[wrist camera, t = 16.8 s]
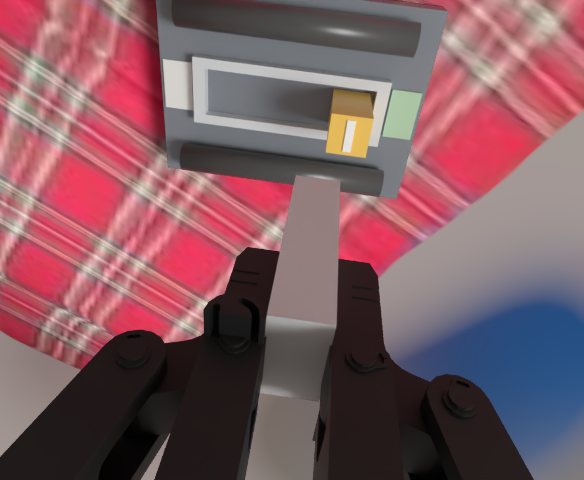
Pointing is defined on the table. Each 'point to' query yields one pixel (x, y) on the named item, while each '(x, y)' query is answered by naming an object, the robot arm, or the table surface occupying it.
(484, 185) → the table surface
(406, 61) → the panel
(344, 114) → the lever
